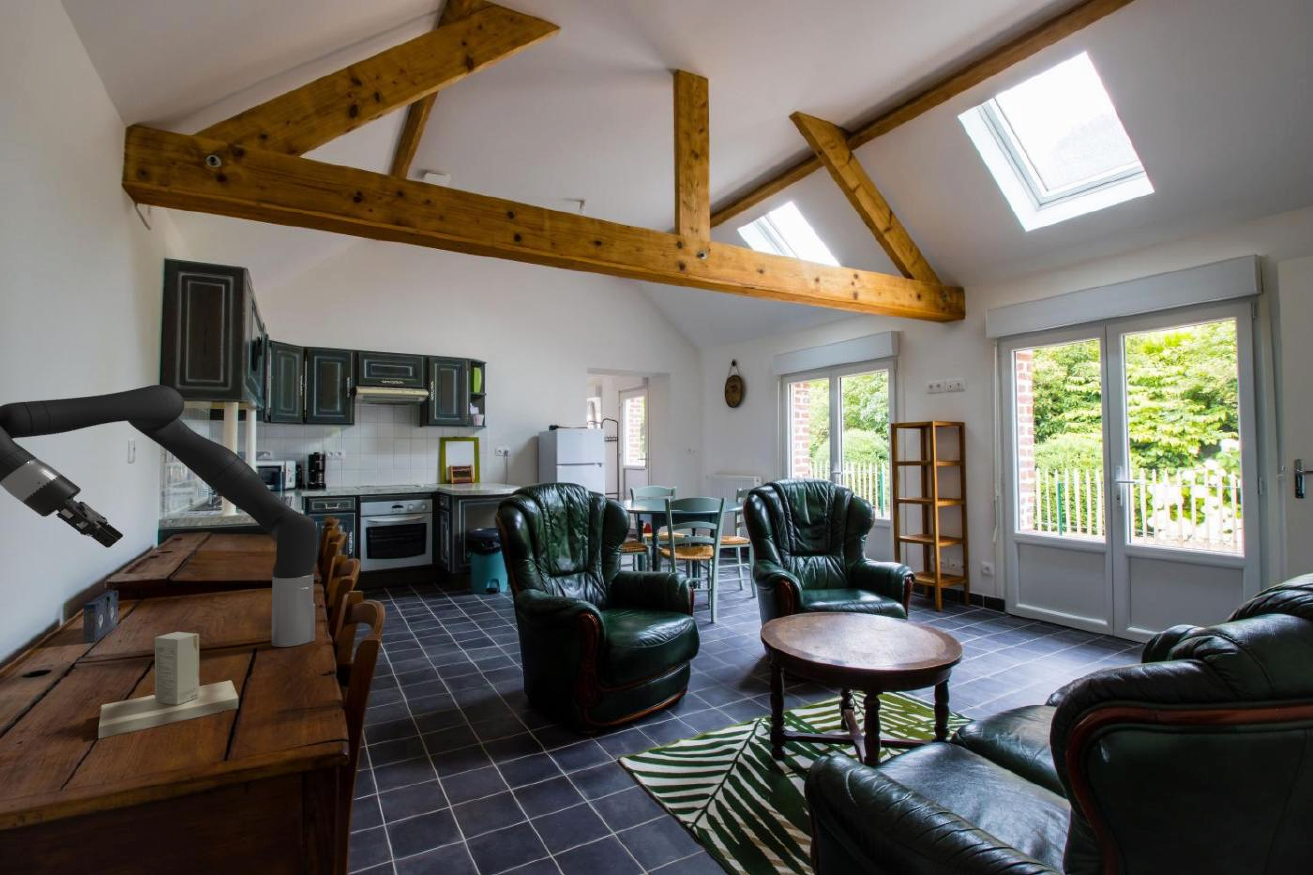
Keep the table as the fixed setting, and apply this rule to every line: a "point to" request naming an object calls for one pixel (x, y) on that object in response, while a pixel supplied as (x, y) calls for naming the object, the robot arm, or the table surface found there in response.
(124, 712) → the birch board
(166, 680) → the skincare box
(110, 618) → the vhs cassette tape
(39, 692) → the table surface
